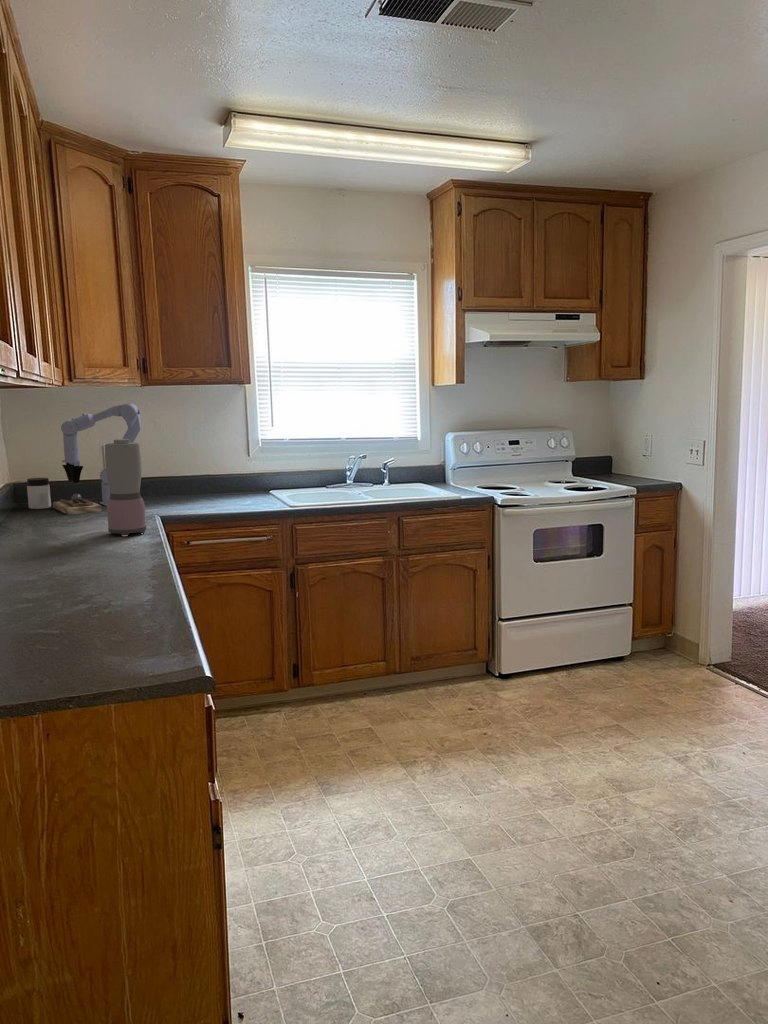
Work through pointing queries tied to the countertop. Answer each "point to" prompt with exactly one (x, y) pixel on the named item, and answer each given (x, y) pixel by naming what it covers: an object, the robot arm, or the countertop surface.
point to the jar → (38, 493)
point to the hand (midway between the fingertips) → (73, 481)
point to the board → (77, 507)
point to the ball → (76, 498)
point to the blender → (124, 487)
